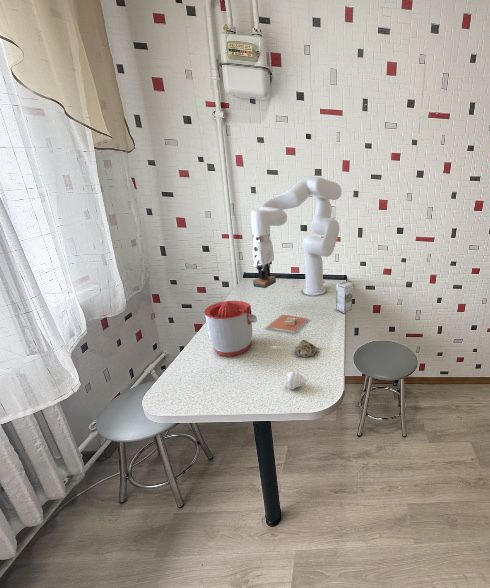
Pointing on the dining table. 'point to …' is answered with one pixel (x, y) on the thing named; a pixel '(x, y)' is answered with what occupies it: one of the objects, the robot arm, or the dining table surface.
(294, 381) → the garlic bulb
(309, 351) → the mineral rock
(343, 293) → the syrup box
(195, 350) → the dining table surface
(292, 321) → the cork chip
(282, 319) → the tile
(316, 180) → the robot arm
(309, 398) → the dining table surface
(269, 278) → the brush
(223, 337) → the citrus juicer
